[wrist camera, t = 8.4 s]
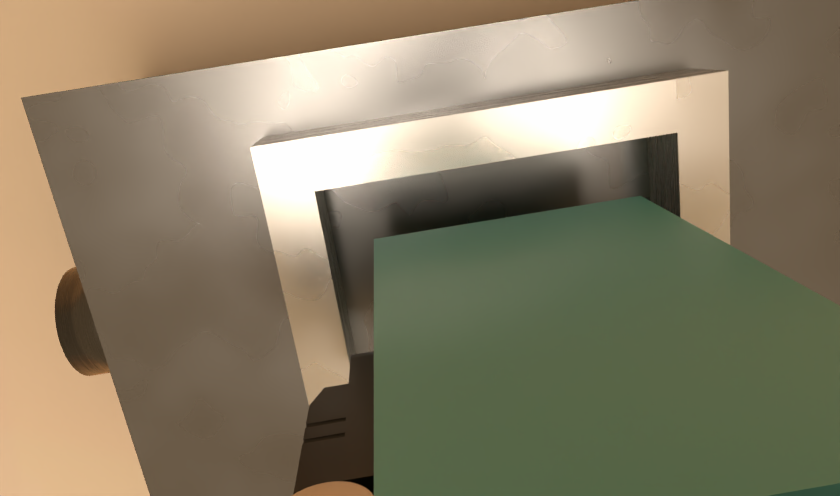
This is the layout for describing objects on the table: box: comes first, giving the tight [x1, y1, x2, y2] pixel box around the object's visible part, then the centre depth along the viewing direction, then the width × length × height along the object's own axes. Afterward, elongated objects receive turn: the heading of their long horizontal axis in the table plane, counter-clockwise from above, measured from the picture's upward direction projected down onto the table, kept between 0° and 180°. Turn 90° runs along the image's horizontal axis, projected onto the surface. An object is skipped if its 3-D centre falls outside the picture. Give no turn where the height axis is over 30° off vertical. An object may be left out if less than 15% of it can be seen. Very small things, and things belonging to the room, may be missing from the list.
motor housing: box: [21, 0, 840, 496], centre depth 18 cm, size 20×12×8 cm, turn 99°
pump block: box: [374, 196, 840, 496], centre depth 9 cm, size 5×5×8 cm
